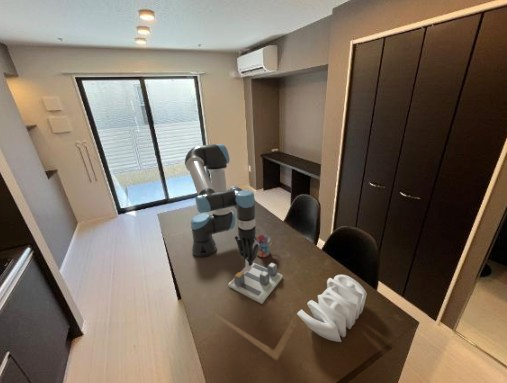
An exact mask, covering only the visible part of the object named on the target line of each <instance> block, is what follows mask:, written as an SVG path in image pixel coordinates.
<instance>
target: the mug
mask: <svg viewBox="0 0 507 383" xmlns="http://www.w3.org/2000/svg"><path fill="white" fill-rule="evenodd" d="M255 238H256V241H257V242H258V243H259V242H260V243H261V245H260V246H259V248H258V253H257V257H259V258H266V257H268V256H270V254H271V251H270V246H272V244H273V242H274V238H273V237H270V236H269V235H266V234H259V235H256V236H255Z"/></svg>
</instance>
